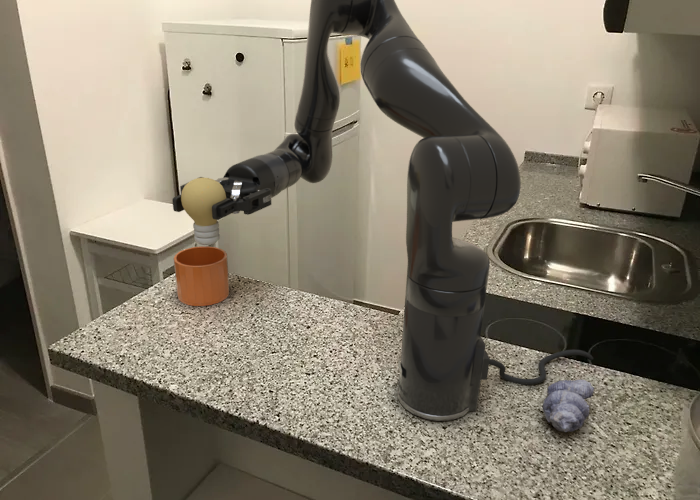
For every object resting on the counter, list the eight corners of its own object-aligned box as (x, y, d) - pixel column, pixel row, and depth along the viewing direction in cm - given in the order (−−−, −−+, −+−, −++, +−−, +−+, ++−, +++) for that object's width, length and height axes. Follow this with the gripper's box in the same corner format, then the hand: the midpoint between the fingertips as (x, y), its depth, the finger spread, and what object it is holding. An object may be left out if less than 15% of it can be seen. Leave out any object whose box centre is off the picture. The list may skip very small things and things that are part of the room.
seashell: (561, 401, 76) (556, 454, 67) (540, 369, 75) (532, 417, 67) (601, 389, 73) (601, 441, 64) (579, 355, 72) (577, 403, 64)
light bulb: (176, 245, 87) (169, 180, 83) (205, 231, 92) (200, 170, 88) (210, 253, 84) (204, 187, 80) (237, 239, 90) (233, 176, 86)
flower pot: (231, 282, 102) (229, 245, 99) (226, 305, 94) (224, 266, 92) (182, 283, 101) (178, 246, 99) (173, 306, 94) (169, 267, 91)
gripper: (220, 152, 99) (152, 177, 85) (294, 163, 94) (234, 191, 80) (223, 194, 102) (157, 225, 88) (295, 207, 97) (237, 242, 83)
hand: (194, 209), depth 84 cm, fingers closed on light bulb, 6 cm apart
